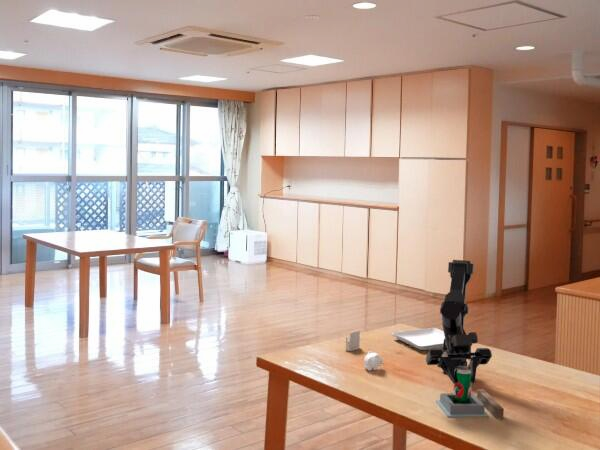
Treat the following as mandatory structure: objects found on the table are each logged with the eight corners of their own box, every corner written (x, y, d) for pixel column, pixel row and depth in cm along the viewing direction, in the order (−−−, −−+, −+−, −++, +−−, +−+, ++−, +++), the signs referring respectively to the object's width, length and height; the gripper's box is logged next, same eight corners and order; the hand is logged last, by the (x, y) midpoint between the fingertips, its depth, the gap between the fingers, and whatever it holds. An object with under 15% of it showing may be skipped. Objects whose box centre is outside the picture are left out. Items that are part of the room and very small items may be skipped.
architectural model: (342, 350, 254) (343, 331, 253) (354, 346, 259) (355, 328, 258) (349, 352, 252) (350, 333, 251) (361, 348, 256) (361, 330, 256)
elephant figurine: (387, 371, 229) (387, 354, 228) (366, 373, 226) (366, 356, 225) (378, 365, 235) (378, 349, 234) (357, 367, 232) (358, 350, 232)
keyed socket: (435, 401, 201) (436, 392, 200) (474, 401, 202) (474, 391, 201) (447, 417, 189) (448, 407, 188) (488, 416, 190) (489, 406, 189)
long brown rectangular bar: (476, 398, 204) (477, 389, 203) (483, 398, 204) (483, 389, 204) (496, 419, 188) (496, 408, 188) (503, 419, 188) (503, 408, 188)
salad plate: (419, 354, 250) (420, 345, 250) (390, 339, 270) (390, 331, 269) (465, 348, 259) (466, 340, 258) (434, 335, 278) (434, 327, 278)
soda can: (470, 411, 192) (472, 371, 191) (452, 409, 193) (454, 369, 192) (470, 405, 197) (471, 365, 196) (452, 403, 198) (454, 364, 197)
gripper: (430, 322, 196) (439, 370, 186) (491, 322, 197) (503, 370, 188) (422, 340, 204) (430, 387, 195) (480, 340, 206) (492, 387, 196)
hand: (464, 382), depth 193 cm, fingers open, 5 cm apart
